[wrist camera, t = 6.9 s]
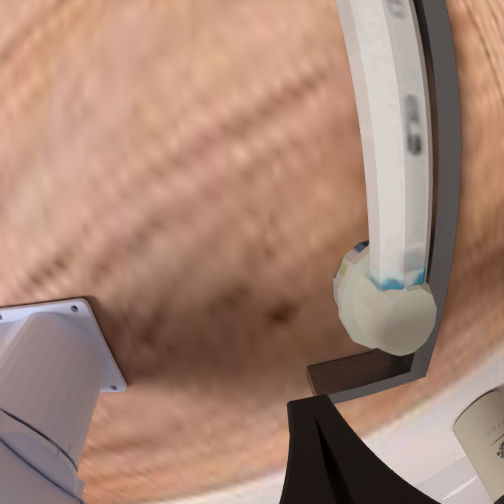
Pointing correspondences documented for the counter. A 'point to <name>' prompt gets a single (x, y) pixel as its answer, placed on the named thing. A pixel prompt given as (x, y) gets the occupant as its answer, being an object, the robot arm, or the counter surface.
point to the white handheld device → (389, 180)
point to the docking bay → (442, 222)
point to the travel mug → (485, 441)
